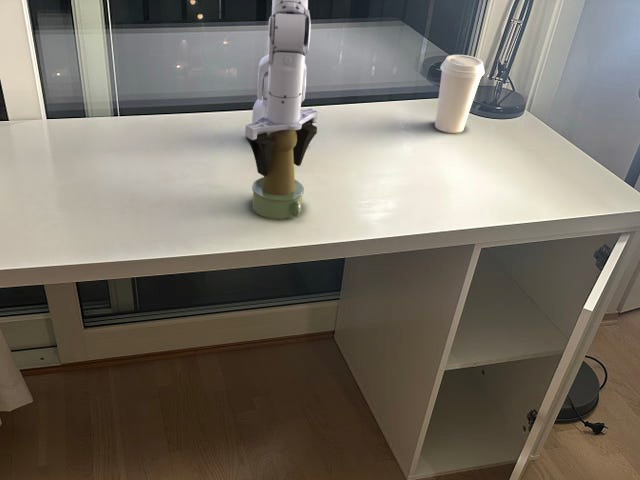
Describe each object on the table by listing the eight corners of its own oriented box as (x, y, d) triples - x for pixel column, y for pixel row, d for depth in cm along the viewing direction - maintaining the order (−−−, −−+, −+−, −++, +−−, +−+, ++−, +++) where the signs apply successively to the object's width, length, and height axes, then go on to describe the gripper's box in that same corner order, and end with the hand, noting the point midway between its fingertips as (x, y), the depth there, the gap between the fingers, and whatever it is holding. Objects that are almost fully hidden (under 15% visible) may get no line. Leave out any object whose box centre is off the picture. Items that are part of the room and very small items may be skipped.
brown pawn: (292, 197, 125) (297, 137, 118) (259, 192, 126) (262, 133, 119) (297, 182, 130) (302, 123, 122) (265, 177, 130) (268, 119, 123)
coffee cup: (423, 119, 166) (436, 53, 157) (462, 119, 167) (477, 53, 158) (435, 135, 159) (450, 67, 149) (475, 135, 160) (493, 67, 150)
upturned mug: (241, 203, 131) (241, 183, 128) (280, 190, 135) (281, 171, 133) (276, 227, 125) (278, 207, 122) (316, 213, 129) (318, 193, 127)
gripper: (265, 108, 111) (261, 187, 120) (333, 91, 118) (324, 167, 127) (238, 94, 115) (236, 172, 124) (305, 78, 122) (299, 153, 131)
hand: (279, 168), depth 125 cm, fingers open, 7 cm apart
